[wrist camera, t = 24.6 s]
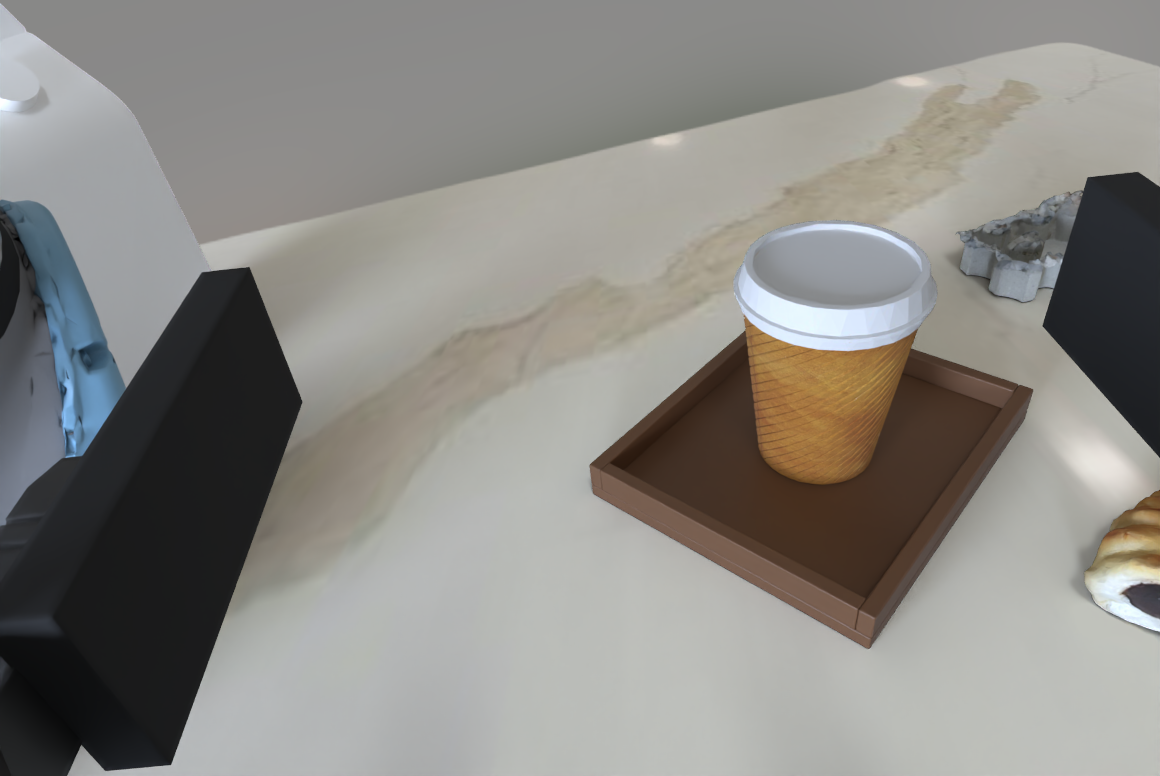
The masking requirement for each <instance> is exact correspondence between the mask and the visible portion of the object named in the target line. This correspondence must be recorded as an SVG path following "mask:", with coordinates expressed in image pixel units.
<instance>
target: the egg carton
mask: <svg viewBox="0 0 1160 776" xmlns="http://www.w3.org/2000/svg"><path fill="white" fill-rule="evenodd" d="M1081 193H1083V191H1076V192H1074V193H1073V194H1070V192H1067V193H1064V194H1062V195H1060V196H1053V197H1052V198H1049V199H1047V200H1044V201H1043V202H1042V203H1041V204H1040V206H1039V208H1036V209H1034V210H1022V211H1020V212H1019V213H1017V214H1016V215H1014V216H1011V217H1007V218H1005V219H1002V220H993V221H991V222H988V223H986V224H984V225H982V226H980V227H978V228H977V229H973V230H969V231H961V232H957V233H958V234H960V240H961V241H962V242H964V243H965V246H964V252H963V256H962V260H961V264H960V267H959V268H960V269H961V270H962V271H964V272H965V273H966V275H978V276H982V277H986V278H988V279H991V281H990V285H989V288H988V289H989V290H990V291H991V292H993V293H994V294H995V295H998V296H1005V297H1010V298H1014V299H1017V300H1019V301H1021V302H1026V301H1031V300H1033V299H1034V298H1035V296H1036V293H1037V290H1038V288H1041V287H1050V288H1054V287H1055V283H1056V280H1057V277H1058V273H1059V270H1060V267H1061V264H1062V260H1063V257H1064V254H1065V250H1066V247H1067V244H1068V241H1069V237H1070V234H1071V231H1072V227H1073V224H1074V221H1075V218H1076V214H1077V211H1078V208H1079V204H1080V201H1081V198H1082V196H1080V194H1081ZM957 233H956V234H957Z"/></svg>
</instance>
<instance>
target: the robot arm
mask: <svg viewBox="0 0 1160 776" xmlns="http://www.w3.org/2000/svg"><path fill="white" fill-rule="evenodd" d="M1043 327H1044V328H1045V329H1046V331H1047V332H1048V333H1049V334H1050V335H1051V336H1052V337H1053V338H1054V340H1055V341H1056V342H1057V343H1058V344H1059V345H1060V346H1061V347H1062V349H1063V350H1064V351H1065V352H1066V353H1067V354H1068V355H1069V356H1070V358H1071V359H1072V360H1073V361H1074V362H1075V363H1076V364H1077V365H1078V366H1079V368H1080V369H1081V370H1082V371H1083V372H1084V373H1085V374H1086V375H1087V377H1088V378H1089V379H1090V380H1091V381H1092V382H1093V383H1094V384H1095V386H1096V387H1097V388H1098V389H1099V390H1100V391H1101V392H1102V393H1103V395H1104V396H1105V397H1106V398H1107V399H1108V400H1109V401H1110V402H1111V403H1112V405H1113V406H1114V407H1115V408H1116V409H1117V410H1118V411H1119V412H1120V414H1121V415H1122V416H1123V417H1124V418H1125V419H1126V420H1127V421H1128V423H1129V424H1130V425H1131V426H1132V427H1133V428H1134V429H1135V430H1136V432H1137V433H1138V434H1139V435H1140V436H1141V437H1142V438H1143V439H1144V441H1145V442H1146V443H1147V444H1148V445H1149V446H1150V447H1151V448H1152V449H1153V451H1154V452H1155V453H1156V454H1157V455H1158V456H1159V457H1160V187H1159V186H1158V185H1156V184H1155V183H1153V182H1152V181H1150V180H1149V179H1147V178H1146V177H1145V176H1143V175H1142V174H1140V173H1139V172H1133V173H1124V174H1115V175H1105V176H1096V177H1088V178H1087V181H1086V185H1085V188H1084V191H1083V195H1082V198H1081V201H1080V204H1079V208H1078V211H1077V214H1076V218H1075V221H1074V224H1073V227H1072V231H1071V234H1070V237H1069V241H1068V244H1067V247H1066V250H1065V254H1064V257H1063V260H1062V264H1061V267H1060V270H1059V273H1058V277H1057V280H1056V283H1055V287H1054V290H1053V293H1052V296H1051V300H1050V303H1049V306H1048V310H1047V313H1046V316H1045V319H1044V323H1043ZM107 345H108V342H107V339H106V337H105V335H104V332H103V330H102V327H101V324H100V321H99V318H98V315H97V313H96V310H95V308H94V305H93V303H92V300H91V298H90V295H89V293H88V291H87V288H86V286H85V283H84V281H83V279H82V276H81V274H80V272H79V270H78V267H77V265H76V263H75V260H74V258H73V256H72V254H71V251H70V249H69V247H68V245H67V243H66V240H65V238H64V236H63V234H62V232H61V230H60V228H59V226H58V224H57V222H56V220H55V218H54V217H53V215H52V213H51V212H50V211H49V210H48V209H47V208H46V207H45V206H43V205H42V204H40V203H38V202H34V201H30V200H24V201H16V202H11V201H7V200H3V199H2V200H0V776H67V775H68V772H69V770H70V768H71V766H72V764H73V762H74V759H75V757H76V755H77V753H78V751H79V749H80V746H81V745H82V746H83V747H84V748H85V749H86V750H87V751H88V752H89V754H90V755H91V756H92V757H93V758H94V759H95V760H96V761H97V762H98V763H99V764H100V766H101V767H102V768H103V769H104V770H105V771H110V770H121V769H132V768H143V767H153V766H164V765H171V763H172V761H173V758H174V755H175V752H176V750H177V747H178V744H179V741H180V739H181V736H182V733H183V730H184V728H185V725H186V722H187V719H188V716H189V714H190V711H191V708H192V705H193V703H194V700H195V697H196V694H197V692H198V689H199V686H200V683H201V681H202V678H203V675H204V672H205V670H206V667H207V664H208V661H209V659H210V656H211V653H212V650H213V648H214V645H215V642H216V639H217V637H218V634H219V631H220V628H221V625H222V623H223V620H224V617H225V614H226V612H227V609H228V606H229V603H230V601H231V598H232V595H233V592H234V590H235V587H236V584H237V581H238V579H239V576H240V573H241V570H242V568H243V565H244V562H245V559H246V557H247V554H248V551H249V548H250V545H251V543H252V540H253V537H254V534H255V532H256V529H257V526H258V523H259V521H260V518H261V515H262V512H263V510H264V507H265V504H266V501H267V499H268V496H269V493H270V490H271V488H272V485H273V482H274V479H275V477H276V474H277V471H278V468H279V465H280V463H281V460H282V457H283V454H284V452H285V449H286V446H287V443H288V441H289V438H290V435H291V432H292V430H293V427H294V424H295V421H296V419H297V416H298V413H299V410H300V408H301V405H302V400H301V397H300V394H299V392H298V389H297V387H296V384H295V382H294V379H293V377H292V374H291V372H290V369H289V367H288V364H287V361H286V359H285V356H284V354H283V351H282V349H281V346H280V344H279V341H278V339H277V336H276V334H275V331H274V328H273V326H272V323H271V321H270V318H269V316H268V313H267V311H266V308H265V306H264V303H263V301H262V298H261V295H260V293H259V290H258V288H257V285H256V283H255V280H254V278H253V275H252V273H251V270H250V268H249V267H246V268H237V269H228V270H218V271H209V272H202V273H201V274H200V276H199V277H198V279H197V280H196V282H195V283H194V285H193V286H192V288H191V290H190V291H189V293H188V294H187V296H186V297H185V299H184V300H183V302H182V303H181V305H180V306H179V308H178V310H177V311H176V313H175V314H174V316H173V317H172V319H171V320H170V322H169V323H168V325H167V326H166V328H165V330H164V331H163V333H162V334H161V336H160V337H159V339H158V340H157V342H156V343H155V345H154V346H153V348H152V350H151V351H150V353H149V354H148V356H147V357H146V359H145V360H144V362H143V363H142V365H141V366H140V368H139V370H138V371H137V373H136V374H135V376H134V377H133V379H132V380H131V382H130V383H129V385H128V386H127V388H126V387H125V384H124V381H123V379H122V376H121V374H120V371H119V369H118V366H117V364H116V362H115V359H114V357H113V355H112V353H111V352H110V351H109V349H108V346H107Z"/></svg>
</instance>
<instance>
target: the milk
mask: <svg viewBox="0 0 1160 776" xmlns="http://www.w3.org/2000/svg"><path fill="white" fill-rule="evenodd" d="M2 199H3V200H7V201H11V202H16V201H24V200H30V201H34V202H38V203H40V204H42V205H43V206H45V207H46V208H47V209H48V210H49V211H50V212H51V213H52V215H53V217H54V218H55V220H56V222H57V224H58V226H59V228H60V230H61V232H62V234H63V236H64V238H65V240H66V243H67V245H68V247H69V249H70V251H71V254H72V256H73V258H74V260H75V263H76V265H77V267H78V270H79V272H80V274H81V276H82V279H83V281H84V283H85V286H86V288H87V291H88V293H89V295H90V298H91V300H92V303H93V305H94V308H95V310H96V313H97V315H98V318H99V321H100V324H101V327H102V330H103V332H104V335H105V337H106V339H107V342H108V345H107V346H108V349H109V351H110V352H111V353H112V355H113V357H114V359H115V362H116V364H117V366H118V369H119V371H120V374H121V376H122V379H123V381H124V384H125V387H126V388H127V386H128V385H129V383H130V382H131V380H132V379H133V377H134V376H135V374H136V373H137V371H138V370H139V368H140V366H141V365H142V363H143V362H144V360H145V359H146V357H147V356H148V354H149V353H150V351H151V350H152V348H153V346H154V345H155V343H156V342H157V340H158V339H159V337H160V336H161V334H162V333H163V331H164V330H165V328H166V326H167V325H168V323H169V322H170V320H171V319H172V317H173V316H174V314H175V313H176V311H177V310H178V308H179V306H180V305H181V303H182V302H183V300H184V299H185V297H186V296H187V294H188V293H189V291H190V290H191V288H192V286H193V285H194V283H195V282H196V280H197V279H198V277H199V276H200V274H201V273H202V272H209V271H211V268H210V266H209V264H208V262H207V260H206V258H205V256H204V254H203V252H202V250H201V248H200V246H199V244H198V242H197V240H196V238H195V236H194V234H193V232H192V230H191V228H190V226H189V224H188V222H187V220H186V218H185V216H184V214H183V212H182V210H181V208H180V206H179V204H178V202H177V200H176V198H175V196H174V194H173V192H172V190H171V188H170V186H169V184H168V182H167V180H166V178H165V176H164V173H163V172H162V169H161V167H160V165H159V163H158V161H157V159H156V157H155V155H154V153H153V151H152V149H151V147H150V145H149V143H148V141H147V139H146V137H145V135H144V133H143V131H142V129H141V127H140V125H139V123H138V122H137V120H136V118H135V116H134V115H133V113H132V112H131V111H130V110H129V108H128V107H127V106H126V105H125V104H124V102H123V101H121V100H120V99H119V98H118V97H117V96H116V95H115V94H114V93H113V92H112V91H110V90H109V89H108V88H106V87H105V86H104V85H102V84H101V83H100V82H98V81H97V80H96V79H94V78H93V77H92V76H90V75H89V74H87V73H86V72H85V71H83V70H82V69H80V68H79V67H78V66H76V65H75V64H74V63H72V62H71V61H69V60H68V59H66V58H65V57H64V56H62V55H61V54H60V53H58V52H57V51H56V50H54V49H53V48H51V47H50V46H49V45H47V44H46V43H44V42H43V41H42V40H40V39H39V38H37V37H36V36H35V35H33V34H32V33H29V32H26V29H25V27H24V26H23V25H22V24H21V23H20V22H19V21H18V20H17V19H16V18H15V17H14V16H13V15H12V14H11V13H10V12H9V11H8V10H7V9H6V8H5V7H4V6H3V5H2V4H1V3H0V200H2Z"/></svg>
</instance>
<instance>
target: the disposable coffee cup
mask: <svg viewBox="0 0 1160 776" xmlns="http://www.w3.org/2000/svg"><path fill="white" fill-rule="evenodd" d="M734 292H735V297H736V299H737V301H738V302H739V304H740V307H741V310H742V312H743V313H744V317H745V319H744V321H745V327H746V329H745V330H746V337H747V346H748V347H749V348H748V356H749V364H750V366H751V367H750V373H751V375H752V376H751V382H752V391H753V393H754V394H753V400H754V409H755V418H756V427H757V435H758V448H759V451H760V454H761V455H762V457H763V458H764V460H765V461H766V463H767V464H768V465H769V466H770V467H771V468H772V469H774V470H775V471H777V472H778V473H780V474H782V475H784V476H786V477H788V478H790V479H793V480H796V481H799V482H804V483H810V484H821V485H825V484H834V483H840V482H843V481H847V480H850V479H852V478H854V477H856V476H858V475H859V474H860V473H862V472H863V471H864V470H865V469H866V468H867V467H868V465H869V463H870V461H871V459H872V456H873V453H874V450H875V447H876V444H877V442H878V439H879V436H880V433H881V430H882V428H883V425H884V422H885V419H886V416H887V414H888V411H889V408H890V406H891V402H892V400H893V397H894V394H895V391H896V389H897V386H898V383H899V380H900V378H901V375H902V372H903V369H904V366H905V363H906V361H907V358H908V355H909V352H910V350H911V346H912V344H913V341H914V339H915V335H916V333H917V330H918V328H919V326H920V325H921V324H922V322H923V321H924V320H925V318H926V317H927V316H928V315H929V313H930V312H931V311H932V310H933V308H934V305H935V303H936V298H937V294H938V293H937V286H936V282H935V281H934V279H933V277H932V276H931V264H930V262H929V260H928V257H927V255H926V253H925V252H924V251H923V250H922V249H921V248H920V247H919V246H918V245H917V244H916V243H915V242H913V241H911V240H910V239H908V238H906V237H904V236H902V235H900V234H899V233H897V232H894V231H891V230H888V229H885V228H882V227H879V226H876V225H871V224H865V223H860V222H854V221H841V220H831V221H809V222H803V223H797V224H792V225H788V226H785V227H781V228H778V229H776V230H773V231H771V232H768V233H767V234H765V235H763V236H762V237H760V238H759V239H758V240H756V241H755V242H754V243H753V244H752V245H751V246H750V248H749V249H748V251H747V253H746V255H745V258H744V261H743V264H742V265H741V266H740V268H739V269H738V270H737V273H736V275H735V278H734Z"/></svg>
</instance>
